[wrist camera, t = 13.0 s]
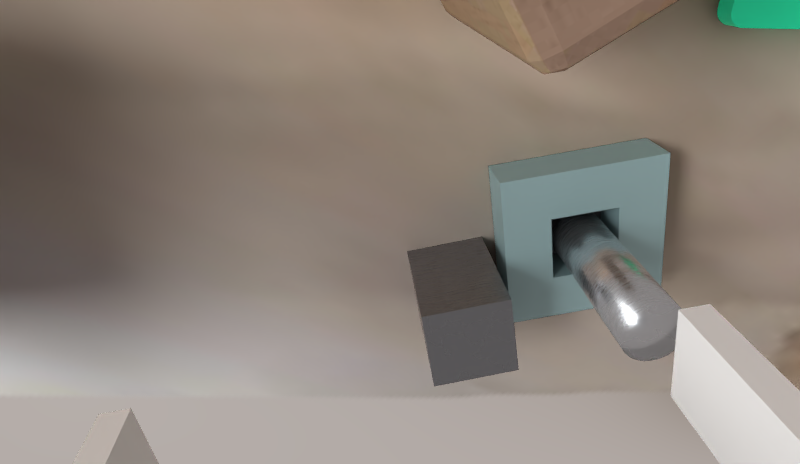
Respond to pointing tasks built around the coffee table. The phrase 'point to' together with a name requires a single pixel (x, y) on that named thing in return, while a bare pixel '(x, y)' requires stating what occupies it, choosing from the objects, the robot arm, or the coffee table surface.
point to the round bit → (617, 286)
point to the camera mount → (760, 13)
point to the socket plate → (567, 196)
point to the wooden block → (553, 26)
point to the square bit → (463, 311)
